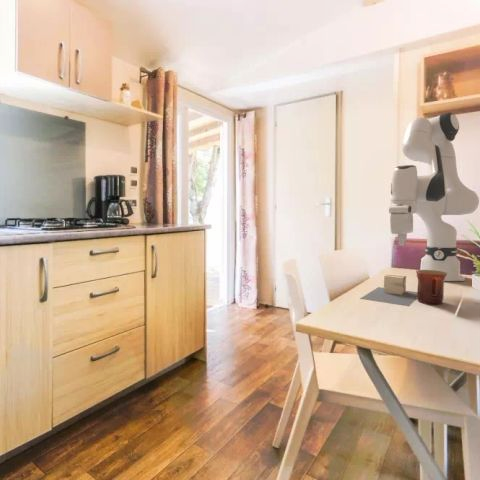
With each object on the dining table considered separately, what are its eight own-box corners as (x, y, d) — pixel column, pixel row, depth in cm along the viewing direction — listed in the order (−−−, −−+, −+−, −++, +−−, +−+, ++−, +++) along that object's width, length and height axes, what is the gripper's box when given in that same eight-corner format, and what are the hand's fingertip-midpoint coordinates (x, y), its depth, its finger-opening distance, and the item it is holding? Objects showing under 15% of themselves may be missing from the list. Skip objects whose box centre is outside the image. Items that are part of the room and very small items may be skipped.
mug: (411, 299, 115) (412, 269, 115) (439, 300, 114) (441, 270, 113) (422, 309, 104) (424, 275, 103) (454, 311, 102) (456, 277, 101)
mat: (378, 288, 132) (378, 287, 132) (421, 294, 123) (421, 292, 123) (359, 300, 114) (359, 298, 114) (408, 307, 105) (409, 306, 105)
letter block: (388, 289, 128) (388, 273, 127) (405, 291, 124) (406, 275, 124) (383, 292, 123) (384, 276, 122) (401, 294, 119) (402, 277, 119)
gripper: (400, 209, 138) (399, 243, 139) (387, 208, 122) (386, 246, 123) (418, 209, 135) (416, 244, 136) (406, 207, 118) (405, 247, 119)
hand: (401, 245), depth 129 cm, fingers closed
